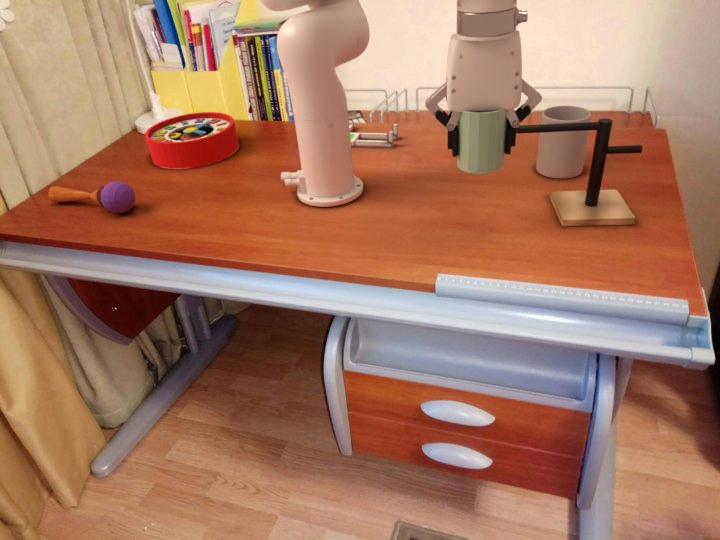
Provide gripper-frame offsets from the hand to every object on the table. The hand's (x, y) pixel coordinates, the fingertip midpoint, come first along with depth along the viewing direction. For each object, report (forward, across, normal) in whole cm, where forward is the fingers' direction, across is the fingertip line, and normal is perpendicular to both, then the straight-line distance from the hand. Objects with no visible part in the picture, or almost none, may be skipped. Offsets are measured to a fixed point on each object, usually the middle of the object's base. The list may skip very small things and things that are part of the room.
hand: (480, 151), depth 81 cm
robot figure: (+13, +25, -41) cm, 50 cm away
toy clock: (+13, +61, -39) cm, 74 cm away
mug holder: (+13, -15, -5) cm, 21 cm away
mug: (+14, -18, -23) cm, 32 cm away
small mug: (+2, 0, -2) cm, 3 cm away
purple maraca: (+13, +72, -12) cm, 75 cm away
